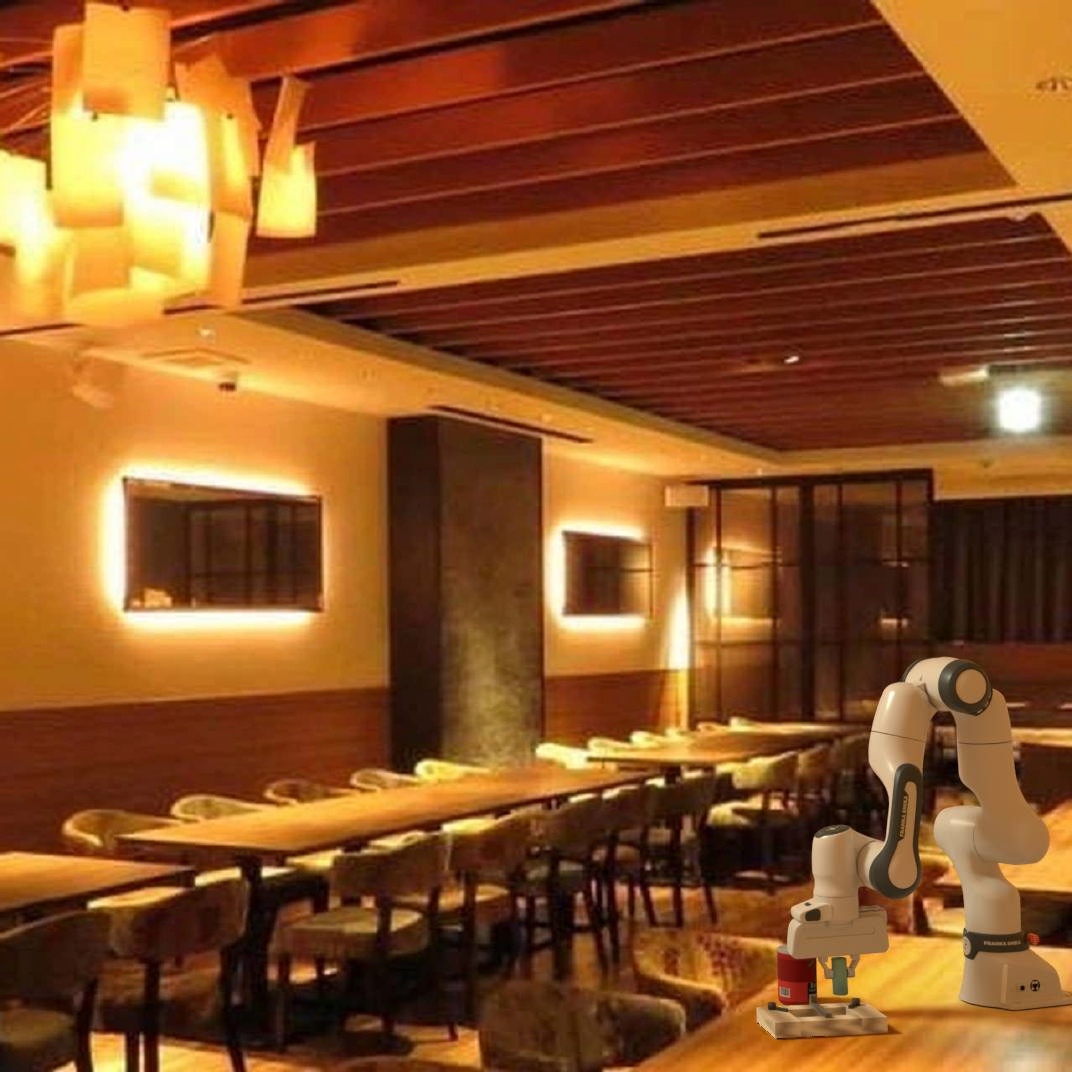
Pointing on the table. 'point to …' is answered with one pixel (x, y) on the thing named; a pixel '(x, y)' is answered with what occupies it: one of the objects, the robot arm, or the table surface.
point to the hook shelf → (821, 1019)
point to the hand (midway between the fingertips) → (839, 977)
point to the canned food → (795, 978)
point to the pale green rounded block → (839, 976)
